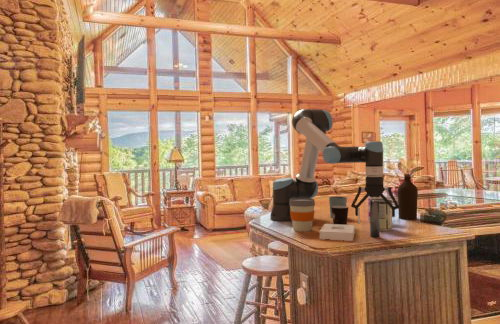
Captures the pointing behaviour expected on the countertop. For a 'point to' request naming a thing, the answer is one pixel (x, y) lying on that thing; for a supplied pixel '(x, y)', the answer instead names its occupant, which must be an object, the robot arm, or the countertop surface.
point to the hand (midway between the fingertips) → (374, 223)
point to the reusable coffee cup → (302, 213)
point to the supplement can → (369, 204)
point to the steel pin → (374, 219)
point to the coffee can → (384, 215)
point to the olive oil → (407, 199)
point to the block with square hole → (337, 232)
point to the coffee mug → (339, 214)
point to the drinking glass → (337, 202)
